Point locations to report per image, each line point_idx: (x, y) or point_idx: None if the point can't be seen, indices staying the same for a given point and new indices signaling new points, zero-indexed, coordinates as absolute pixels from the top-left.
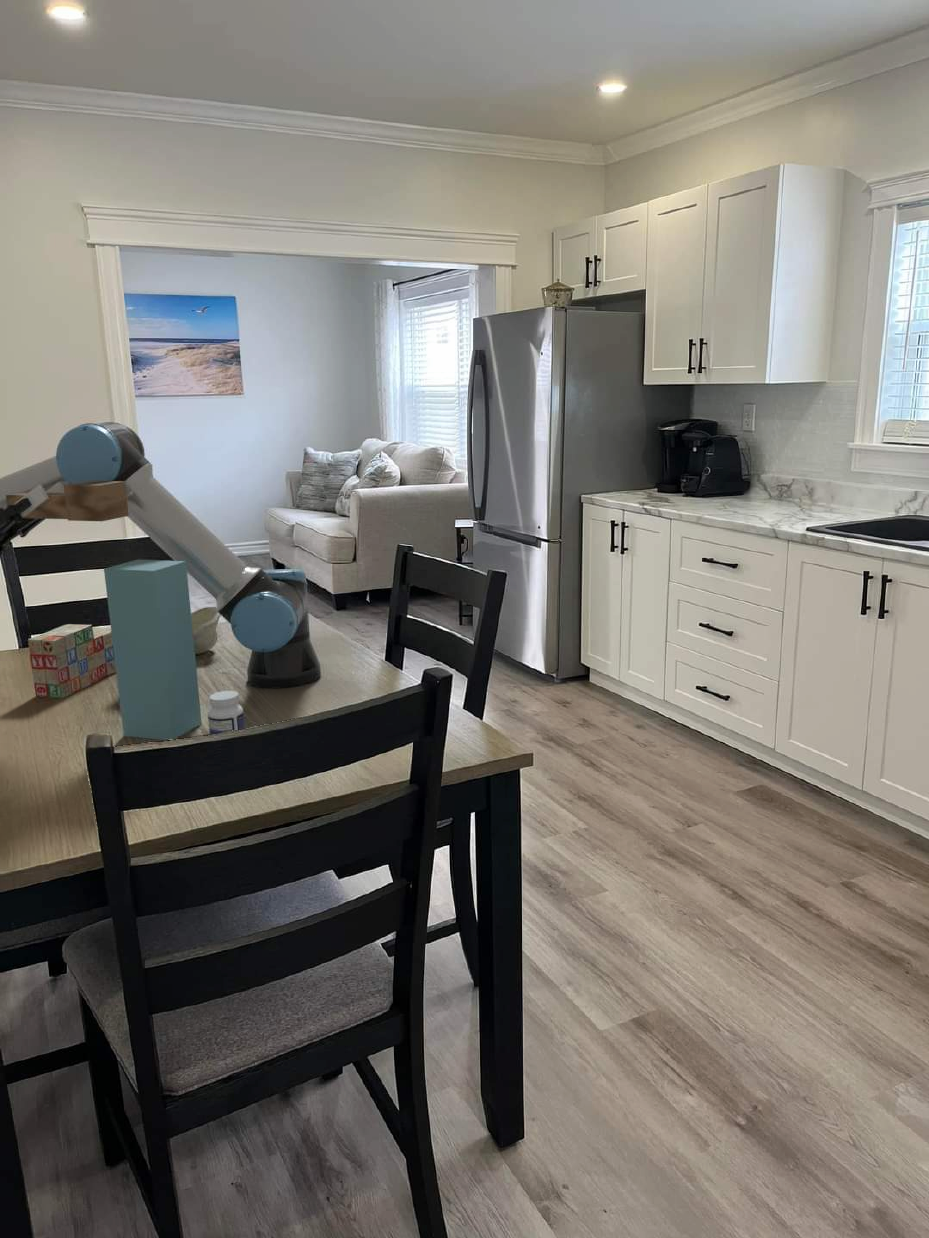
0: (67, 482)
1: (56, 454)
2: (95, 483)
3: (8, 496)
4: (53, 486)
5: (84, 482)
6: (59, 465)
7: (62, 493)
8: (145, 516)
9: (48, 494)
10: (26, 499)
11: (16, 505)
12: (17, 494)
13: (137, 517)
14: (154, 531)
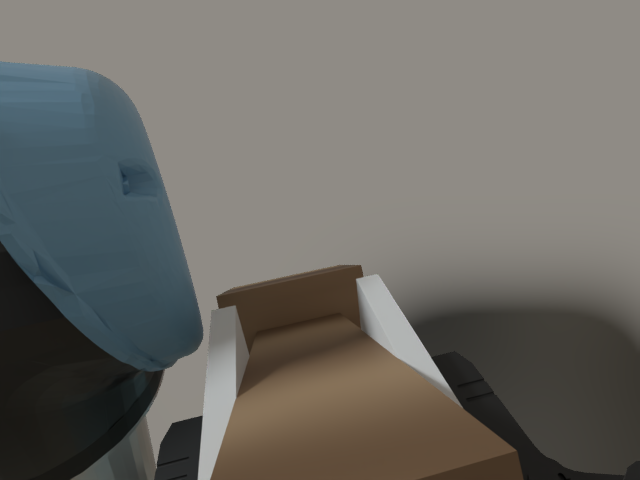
0: (186, 319)
1: (126, 160)
2: (294, 276)
3: (495, 448)
4: (235, 333)
5: (268, 284)
6: (173, 224)
7: (264, 351)
8: (146, 429)
9: (318, 348)
10: (435, 362)
11: (504, 414)
12: (396, 420)
13: (138, 445)
14: (149, 471)
